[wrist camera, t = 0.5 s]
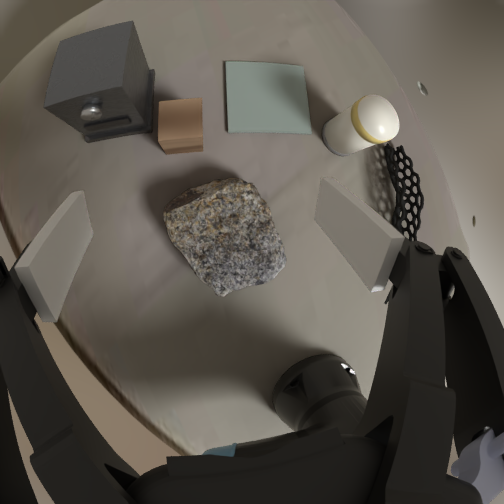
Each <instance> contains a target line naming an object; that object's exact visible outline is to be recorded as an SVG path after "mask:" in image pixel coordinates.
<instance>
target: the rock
mask: <svg viewBox="0 0 504 504" xmlns="http://www.w3.org/2000/svg"><path fill="white" fill-rule="evenodd" d="M163 214H164V216H163V219H164V222H165V225H166V227H167V232H168V235H169V237H170V240H171V241H172V242H173V244H174V245H175V246H176V247H177V248H178V249H179V250H180V251H181V252H182V254H183V255H184V257H185V258H186V259H187V260H188V262H189V264H190V266H191V268H192V269H193V270H194V273H195V274H196V275H197V276H198V278H199V279H200V280H201V281H202V282H204V283H205V284H207V285H208V286H210V287H211V288H212V289H213V290H214V292H215V294H216V295H217V296H225V295H227V294H228V293H230V292H231V291H233V290H240V289H242V288H245V287H247V286H251V285H260V284H264V283H267V282H269V281H270V280H272V279H274V278H275V276H276V275H277V274H278V272H279V271H280V270H281V269H283V268H284V267H285V263H286V256H285V254H284V246H283V244H282V242H281V239H280V238H279V234H278V233H277V232H276V229H275V227H274V222H273V221H272V216H271V211H270V209H269V207H268V205H267V203H266V201H264V200H263V199H262V198H261V197H260V194H259V193H258V191H257V189H256V187H255V186H254V185H253V183H247V182H245V181H243V180H241V179H239V178H227V179H226V180H219V179H218V180H214V181H212V182H211V183H208V184H204V185H200V186H197V187H195V188H189V189H188V190H186V191H185V192H184V193H182V194H181V195H179V196H178V197H177V198H175V199H173V200H172V201H170V202H169V203H168V204H167V205H166V206H165V207H164V212H163Z"/></svg>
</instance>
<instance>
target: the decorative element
mask: <svg viewBox="0 0 504 504" xmlns="http://www.w3.org/2000/svg"><path fill="white" fill-rule="evenodd" d="M400 148H401V149H400ZM400 148H399V147H397V151H395V149H394V148H392V147H391V146H390V145H389V144H388V143H387V144H386V146H385V152H386V162H387V167H388V171H389V174H390V178H391V181H392V184H393V186H394V188H395V191H396V207H395V210H394V213H393V218H392V225H393V226H394V227H395V228H396V230H398V231H400V232H401V233H402V234H403V235H404V231H407V232H408V234H409V239H408V240H409V241H410V242H412V237H413V238H414V241H417V236H416V234H417V230H419V228H420V224H421V220H420V213H421V210H422V208H423V204H424V197H423V194H422V192H421V190H420V177H419V175H418V174H417V173H415V172H414V171H413V168H412V167H413V162H412V160H411V158H410V157H408V156H407V155H406V154H405V152H404V148H403V146H402V145H401V146H400ZM399 152H400V153H402V155H403V159H401V158H400V156H399ZM394 154H395V155H396V157H397V161H395V160H394V158H393V155H394ZM406 159H407V160H408V161H409V163H410V166H408V165H407V164H406ZM399 162H402V163H403V165H404V168H403V169H400V168H399ZM393 165H394V166H395V170H394V169H393ZM406 169H409V170H410V172H411V175H410V176H407V175H406V172H405V171H406ZM398 172H401V173H403V176H404V177H403V178H402V179H401V178H399V177H398ZM414 176H416V178H417V182H416V183H415V182H414V181H413V177H414ZM394 177H395V178H394ZM406 179H408V180H410V182H411V185H410V187H409V186H406V184H405V180H406ZM399 182H401V184H402V188H401V187H400V186H399ZM414 186H416V187H417V194H415V193H414V192H413V190H412V189H413V187H414ZM406 189H407V190H409V191H410V193H409V194H406V193H405V192H406ZM419 195H420V197H421V200H420V206H419V203H418V197H419ZM403 196H405V197H407V199H406V200H404V199H403ZM411 196H413V197H414V198H415V202H414V203H412V201H411V200H410V197H411ZM405 203H409V204H410V209H408V210H406V208H405ZM414 206H416V207H417V215H415V213H414V211H413V208H414ZM399 207H400V208H399ZM401 211H402V215H401V217H400V216H399V215H400V212H401ZM410 212H411V214H412V217H413V218H412V221H409V220H408V218H407V214H408V213H410ZM416 218H417V221H418V223H417V227H416V224H415V221H416ZM403 220H405V221H406V223H407V227H406V228H403V227H402V225H401V223H402V221H403ZM410 225H413V228H414V232H413V234H412V232H411V230H410Z"/></svg>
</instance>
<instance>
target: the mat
mask: <svg viewBox="0 0 504 504" xmlns="http://www.w3.org/2000/svg"><path fill="white" fill-rule="evenodd" d="M226 93H227V119H228V133H292V134H312V132H311V122H310V114H309V105H308V98H307V90H306V83H305V76H304V69H303V66H298V65H289V64H278V63H265V62H241V61H226Z"/></svg>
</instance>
